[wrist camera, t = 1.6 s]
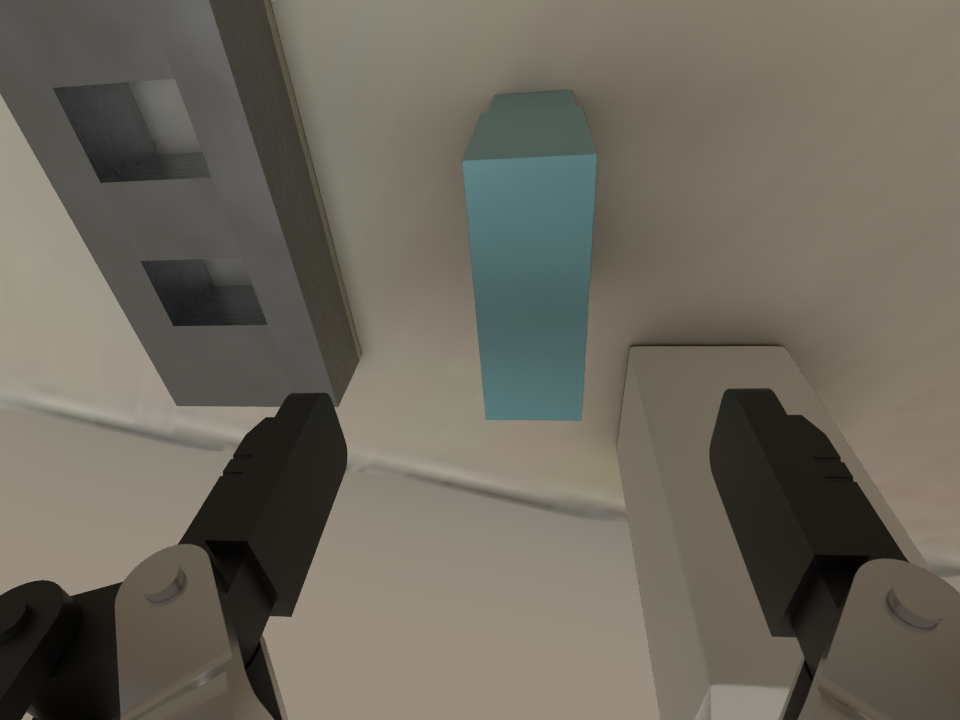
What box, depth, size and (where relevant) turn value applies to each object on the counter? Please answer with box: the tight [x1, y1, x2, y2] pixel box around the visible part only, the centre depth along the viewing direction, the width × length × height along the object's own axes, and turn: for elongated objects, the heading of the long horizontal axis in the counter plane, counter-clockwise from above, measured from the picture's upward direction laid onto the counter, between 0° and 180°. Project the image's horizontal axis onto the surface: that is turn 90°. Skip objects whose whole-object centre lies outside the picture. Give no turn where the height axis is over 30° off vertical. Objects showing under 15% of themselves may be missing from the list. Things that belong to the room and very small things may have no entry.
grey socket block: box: [0, 0, 362, 407], centre depth 20 cm, size 18×8×4 cm, turn 4°
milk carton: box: [617, 346, 933, 720], centre depth 19 cm, size 7×7×19 cm
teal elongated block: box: [462, 90, 597, 421], centre depth 17 cm, size 8×3×9 cm, turn 4°
